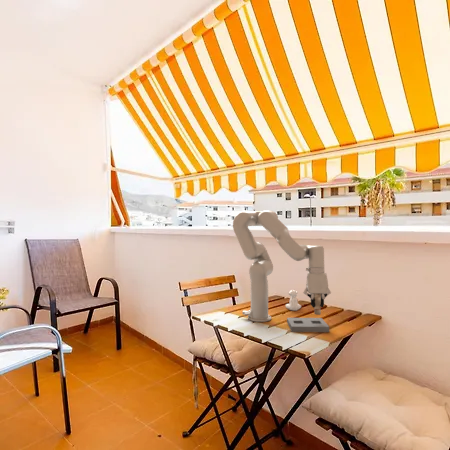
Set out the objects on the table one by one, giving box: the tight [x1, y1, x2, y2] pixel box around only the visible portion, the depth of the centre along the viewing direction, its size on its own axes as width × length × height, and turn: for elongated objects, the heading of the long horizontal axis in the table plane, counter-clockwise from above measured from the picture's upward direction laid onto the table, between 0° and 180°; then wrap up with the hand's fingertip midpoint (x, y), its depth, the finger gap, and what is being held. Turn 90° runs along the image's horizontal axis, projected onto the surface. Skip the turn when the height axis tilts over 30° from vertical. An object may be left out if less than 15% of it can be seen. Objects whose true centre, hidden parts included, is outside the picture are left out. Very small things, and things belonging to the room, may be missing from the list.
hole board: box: [286, 317, 330, 333], centre depth 161 cm, size 18×14×2 cm
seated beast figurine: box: [285, 289, 302, 312], centre depth 193 cm, size 10×9×12 cm
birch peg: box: [313, 294, 322, 316], centre depth 161 cm, size 4×4×12 cm
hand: (317, 306), depth 161 cm, fingers closed on birch peg, 3 cm apart
